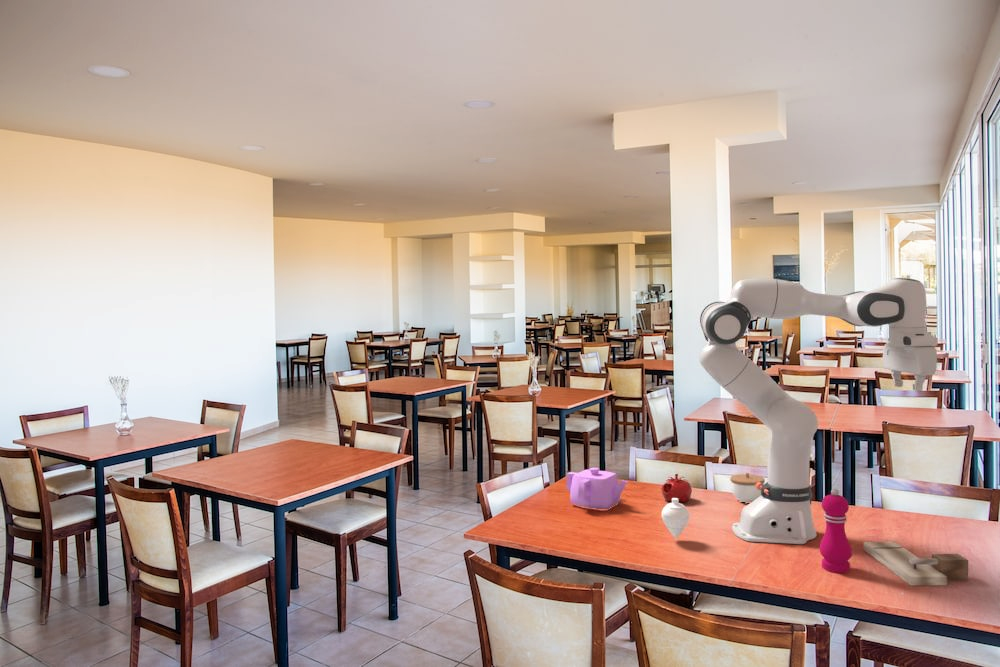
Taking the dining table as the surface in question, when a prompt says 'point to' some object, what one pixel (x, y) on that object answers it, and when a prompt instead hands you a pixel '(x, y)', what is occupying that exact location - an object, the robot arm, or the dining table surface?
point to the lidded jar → (746, 486)
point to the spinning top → (675, 517)
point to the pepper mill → (835, 534)
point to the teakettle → (594, 488)
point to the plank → (904, 564)
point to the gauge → (946, 565)
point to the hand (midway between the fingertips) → (907, 388)
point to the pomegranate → (677, 489)
